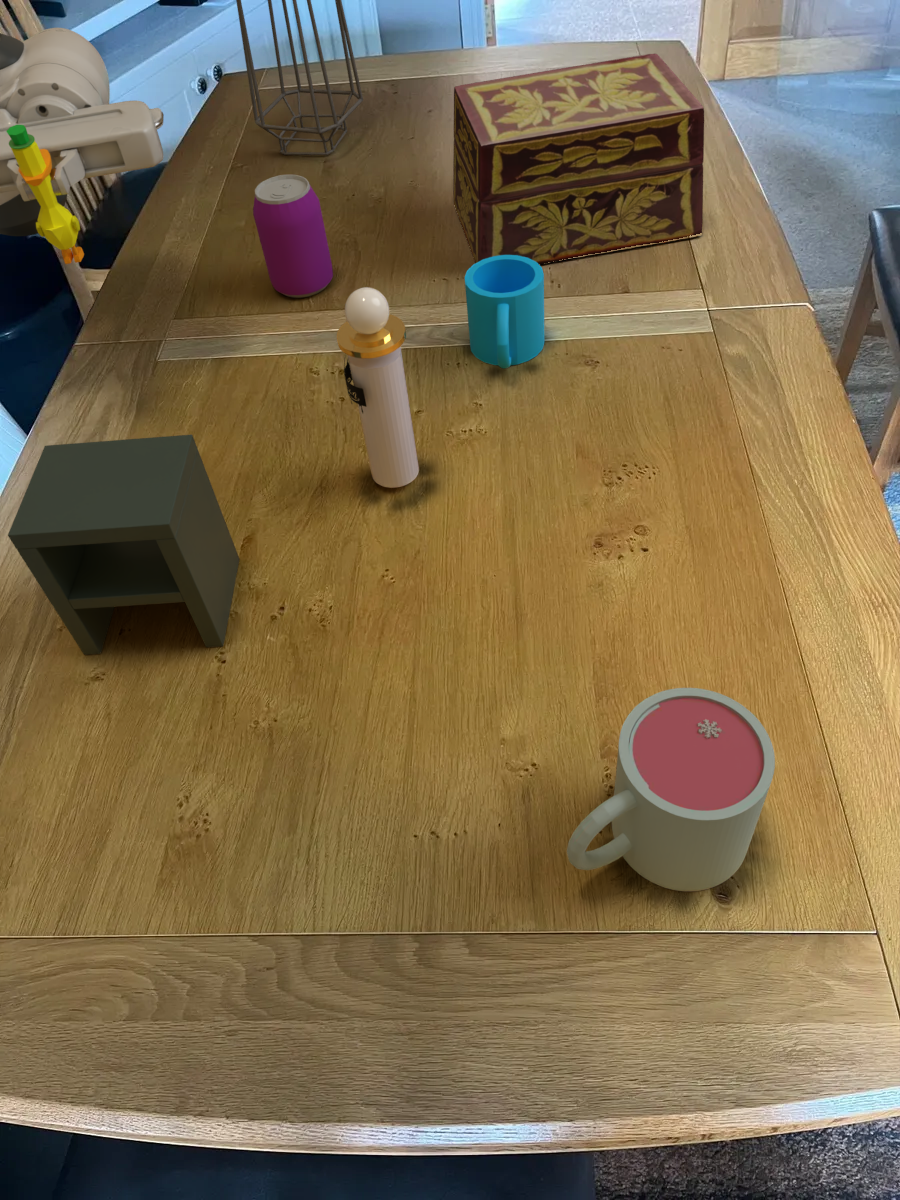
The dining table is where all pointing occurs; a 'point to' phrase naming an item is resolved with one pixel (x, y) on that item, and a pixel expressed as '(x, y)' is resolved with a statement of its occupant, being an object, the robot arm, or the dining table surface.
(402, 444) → the perfume bottle
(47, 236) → the toy figure
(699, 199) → the decorative box
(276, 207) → the beverage can
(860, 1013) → the dining table surface
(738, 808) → the mug
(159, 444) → the shelf
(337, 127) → the geometric lantern
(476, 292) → the mug
